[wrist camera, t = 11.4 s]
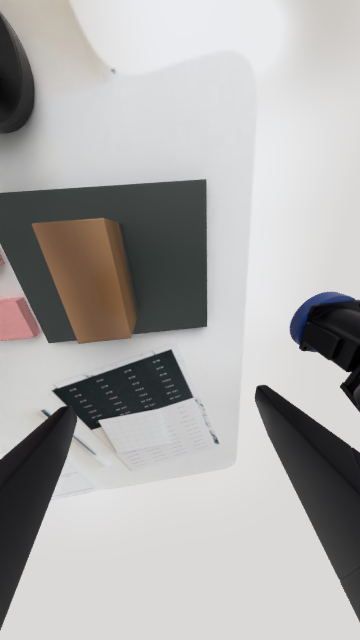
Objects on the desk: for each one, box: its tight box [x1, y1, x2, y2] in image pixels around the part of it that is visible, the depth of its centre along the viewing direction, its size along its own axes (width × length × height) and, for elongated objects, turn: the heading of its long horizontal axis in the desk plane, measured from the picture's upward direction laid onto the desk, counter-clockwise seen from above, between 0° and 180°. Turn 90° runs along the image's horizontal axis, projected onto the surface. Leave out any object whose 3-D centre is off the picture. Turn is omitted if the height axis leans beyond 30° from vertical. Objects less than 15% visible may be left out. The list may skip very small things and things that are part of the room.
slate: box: [0, 179, 207, 343], centre depth 16 cm, size 17×13×1 cm
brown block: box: [32, 218, 139, 344], centre depth 14 cm, size 4×8×5 cm, turn 4°
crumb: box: [0, 297, 40, 341], centre depth 18 cm, size 4×4×1 cm
